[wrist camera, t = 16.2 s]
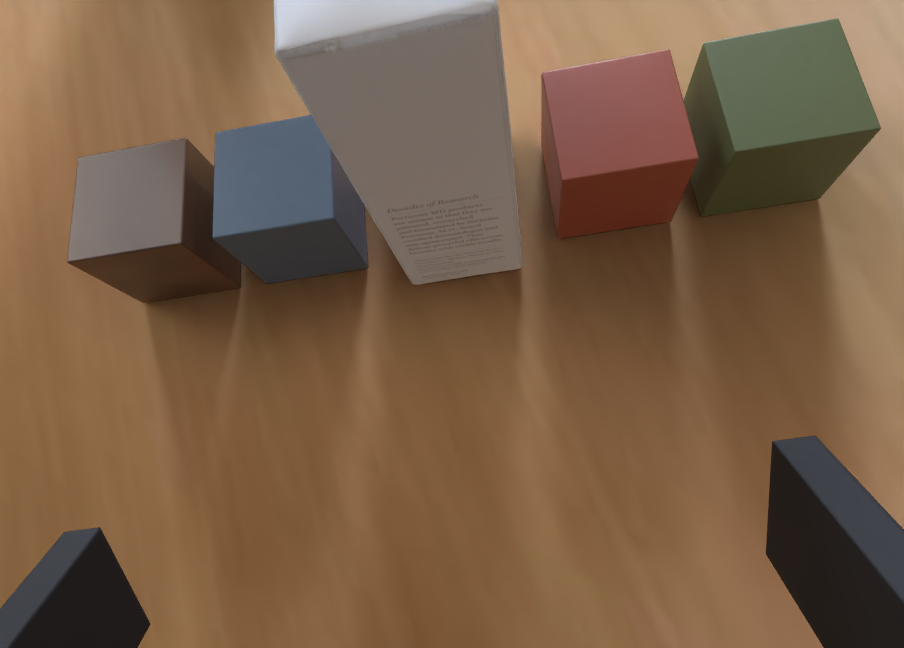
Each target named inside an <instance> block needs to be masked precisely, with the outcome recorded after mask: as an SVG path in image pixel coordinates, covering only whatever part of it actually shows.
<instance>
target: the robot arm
mask: <svg viewBox="0 0 904 648" xmlns="http://www.w3.org/2000/svg"><path fill="white" fill-rule="evenodd" d="M766 555H767V556H768V558H769V560H770V561H771V563H772V565H773V566H774V568H775V569H776V571H777V573H778V574H779V576H780V578H781V579H782V581H783V582H784V584H785V586H786V587H787V589H788V590H789V592H790V594H791V595H792V597H793V599H794V600H795V602H796V603H797V605H798V607H799V608H800V610H801V612H802V613H803V615H804V616H805V618H806V620H807V621H808V623H809V625H810V626H811V628H812V629H813V631H814V633H815V634H816V636H817V637H818V639H819V641H820V642H821V644H822V646H823V647H824V648H904V529H903V528H902V527H901V526H900V525H899V524H898V523H897V522H896V521H895V520H894V519H893V518H892V517H891V516H890V514H889V513H888V512H887V511H886V510H885V509H884V508H883V507H882V506H881V505H880V504H879V503H878V502H877V501H876V500H875V499H874V497H873V496H872V495H871V494H870V493H869V492H868V491H867V490H866V489H865V488H864V487H863V486H862V485H861V484H860V483H859V482H858V480H857V479H856V478H855V477H854V476H853V475H852V474H851V473H850V472H849V471H848V470H847V469H846V468H845V467H844V466H843V465H842V463H841V462H840V461H839V460H838V459H837V458H836V457H835V456H834V455H833V454H832V453H831V452H830V451H829V450H828V449H827V448H826V446H825V445H824V444H823V443H822V442H821V441H820V440H819V439H818V438H817V437H816V436H809V437H801V438H793V439H786V440H778V441H772V454H771V472H770V490H769V508H768V526H767V544H766ZM149 626H150V622H149V620H148V618H147V617H146V615H145V613H144V611H143V609H142V607H141V605H140V603H139V601H138V599H137V597H136V595H135V594H134V592H133V590H132V588H131V586H130V584H129V582H128V580H127V578H126V576H125V574H124V572H123V570H122V569H121V567H120V565H119V563H118V561H117V559H116V557H115V555H114V553H113V551H112V549H111V547H110V546H109V544H108V542H107V540H106V538H105V536H104V534H103V532H102V530H101V528H100V527H99V528H92V529H84V530H76V531H68V532H64V533H63V534H62V535H61V537H60V538H59V539H58V540H57V541H56V543H55V544H54V545H53V546H52V547H51V549H50V550H49V551H48V552H47V553H46V555H45V556H44V557H43V558H42V559H41V561H40V562H39V563H38V564H37V565H36V567H35V568H34V569H33V570H32V571H31V573H30V574H29V575H28V576H27V577H26V579H25V580H24V581H23V582H22V583H21V585H20V586H19V587H18V588H17V589H16V590H15V592H14V593H13V594H12V595H11V596H10V598H9V599H8V600H7V601H6V602H5V604H4V605H3V606H2V607H1V608H0V648H138V646H139V644H140V642H141V640H142V638H143V637H144V635H145V633H146V631H147V629H148V628H149Z"/></svg>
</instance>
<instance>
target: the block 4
mask: <svg viewBox="0 0 904 648" xmlns="http://www.w3.org/2000/svg"><path fill="white" fill-rule="evenodd" d="M684 105H685V109H686V112H687V116H688V120H689V123H690V127H691V131H692V135H693V138H694V142H695V146H696V149H697V153H698V157H699V159H698V162H697V164H696V166H695V168H694V171H693V173H692V175H691V181H692V185H693V188H694V192H695V196H696V200H697V204H698V207H699V211H700V215H701V216H702V217H703V216H709V215H716V214H722V213H728V212H735V211H741V210H748V209H754V208H761V207H767V206H774V205H780V204H787V203H793V202H800V201H806V200H813V199H819V198H820V197H821V196H822V195H823V194H824V193H825V192H826V190H827V189H828V188H829V187H830V186H831V185H832V184H833V182H834V181H835V180H836V179H837V178H838V177H839V176H840V175H841V173H842V172H843V171H844V170H845V169H846V168H847V167H848V165H849V164H850V163H851V162H852V161H853V160H854V159H855V158H856V156H857V155H858V154H859V153H860V152H861V151H862V150H863V148H864V147H865V146H866V145H867V144H868V143H869V142H870V141H871V139H872V138H873V137H874V136H875V135H876V134H877V133H878V131H879V130H880V129H881V127H880V125H879V122H878V119H877V117H876V114H875V112H874V109H873V106H872V104H871V101H870V99H869V96H868V94H867V91H866V88H865V86H864V83H863V81H862V78H861V76H860V73H859V70H858V68H857V65H856V63H855V60H854V58H853V55H852V52H851V50H850V47H849V45H848V42H847V40H846V37H845V34H844V32H843V29H842V27H841V24H840V22H839V19H831V20H826V21H820V22H815V23H809V24H804V25H798V26H793V27H788V28H782V29H777V30H771V31H766V32H760V33H755V34H749V35H744V36H738V37H733V38H728V39H722V40H717V41H711V42H706V43H703V46H702V49H701V52H700V54H699V57H698V60H697V63H696V66H695V69H694V72H693V75H692V78H691V81H690V83H689V86H688V89H687V92H686V95H685V98H684Z"/></svg>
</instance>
